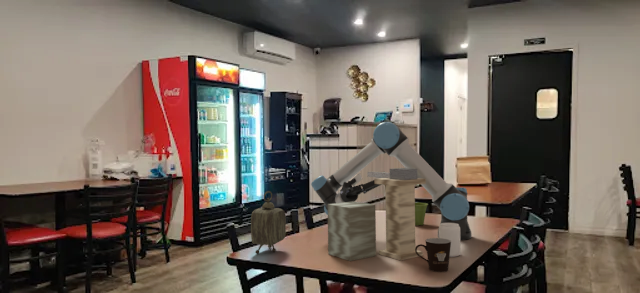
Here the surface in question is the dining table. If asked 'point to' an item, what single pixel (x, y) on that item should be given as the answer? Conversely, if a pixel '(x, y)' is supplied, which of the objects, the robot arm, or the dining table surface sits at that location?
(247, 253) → the dining table surface
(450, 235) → the beverage can
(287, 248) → the dining table surface
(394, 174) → the grey t-shaped bar
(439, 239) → the coffee mug
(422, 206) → the green tapered cylinder
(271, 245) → the tabletop clock
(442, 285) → the dining table surface
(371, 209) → the beige grey streaked blocks
